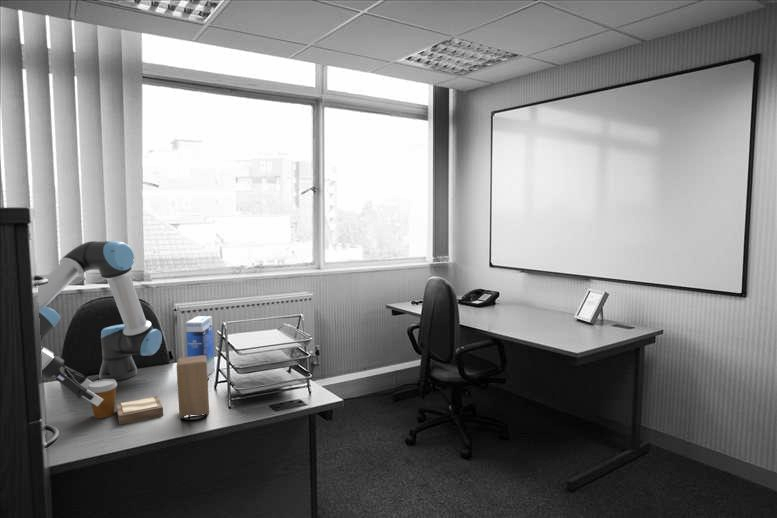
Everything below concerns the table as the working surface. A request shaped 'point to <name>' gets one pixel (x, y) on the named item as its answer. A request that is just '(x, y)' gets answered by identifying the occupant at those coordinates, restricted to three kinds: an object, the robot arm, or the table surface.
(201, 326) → the string lights box
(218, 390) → the table surface
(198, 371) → the block
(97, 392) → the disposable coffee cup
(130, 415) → the walnut base
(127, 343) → the robot arm
